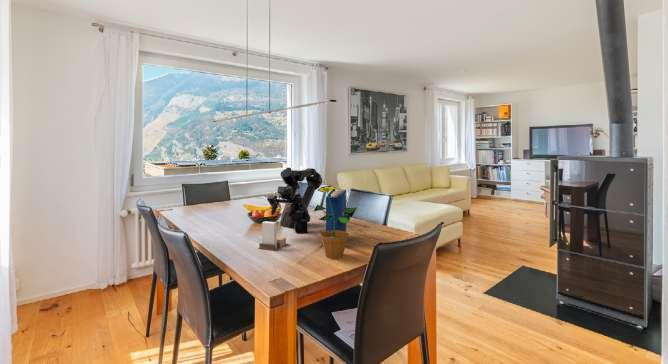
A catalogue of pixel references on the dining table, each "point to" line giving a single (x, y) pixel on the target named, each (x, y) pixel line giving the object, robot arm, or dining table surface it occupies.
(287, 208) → the owl
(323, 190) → the potted plant
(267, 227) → the tall white pillar
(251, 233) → the dining table surface
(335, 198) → the book
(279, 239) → the offcut top
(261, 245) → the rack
